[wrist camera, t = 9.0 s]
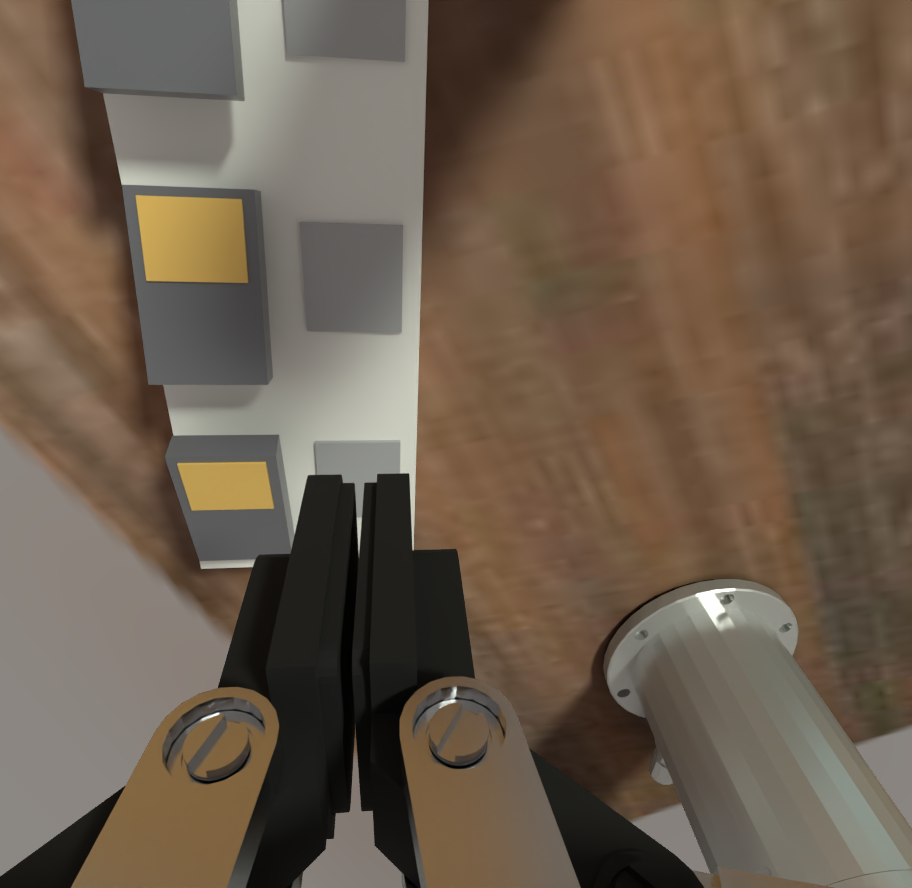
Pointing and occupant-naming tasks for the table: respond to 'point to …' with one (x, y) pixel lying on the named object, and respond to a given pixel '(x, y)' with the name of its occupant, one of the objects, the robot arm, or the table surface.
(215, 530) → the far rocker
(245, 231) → the middle rocker
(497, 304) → the table surface
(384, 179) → the power strip
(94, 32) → the near rocker
